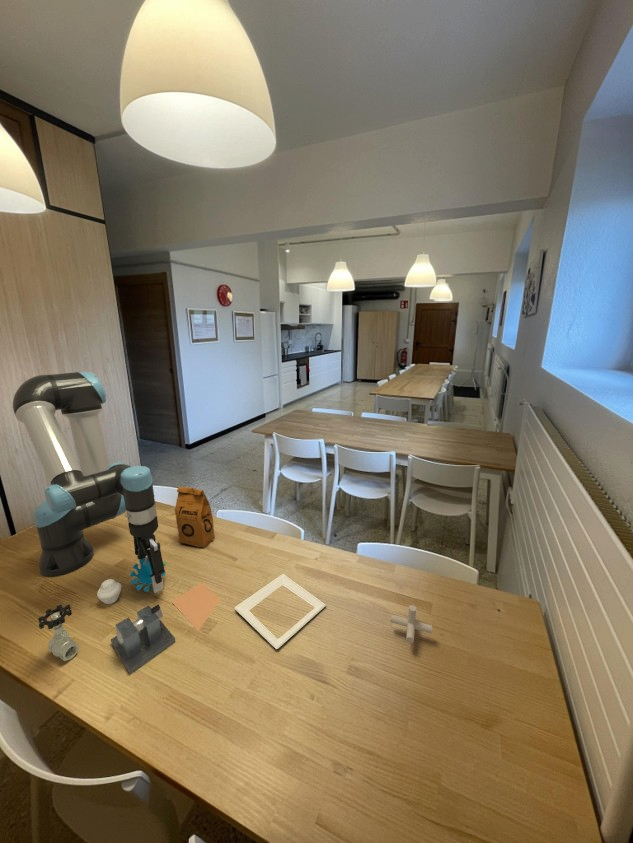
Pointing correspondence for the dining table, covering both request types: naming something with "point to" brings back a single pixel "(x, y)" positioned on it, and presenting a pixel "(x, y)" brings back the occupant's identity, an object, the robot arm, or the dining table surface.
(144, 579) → the gear
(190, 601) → the pad
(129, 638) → the shaft stand
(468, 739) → the dining table surface
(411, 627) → the pipe connector
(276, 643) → the white square picture frame
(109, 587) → the white rounded lump
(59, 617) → the valve
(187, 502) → the coffee package
